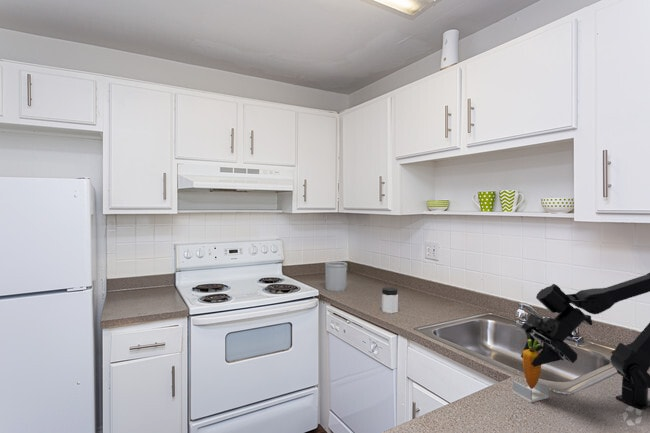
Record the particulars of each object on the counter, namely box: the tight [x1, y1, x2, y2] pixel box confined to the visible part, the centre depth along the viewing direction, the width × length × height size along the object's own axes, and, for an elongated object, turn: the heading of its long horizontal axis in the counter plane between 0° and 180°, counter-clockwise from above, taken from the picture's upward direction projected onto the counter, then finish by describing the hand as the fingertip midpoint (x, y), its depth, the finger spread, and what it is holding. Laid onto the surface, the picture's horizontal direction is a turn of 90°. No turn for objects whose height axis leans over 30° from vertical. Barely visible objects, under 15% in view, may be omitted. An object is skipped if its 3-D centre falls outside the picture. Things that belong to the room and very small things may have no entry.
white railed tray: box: [512, 380, 550, 403], centre depth 108 cm, size 7×6×4 cm
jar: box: [381, 286, 399, 314], centre depth 195 cm, size 9×8×12 cm
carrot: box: [522, 339, 542, 389], centre depth 108 cm, size 5×5×15 cm
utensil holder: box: [324, 261, 348, 292], centre depth 246 cm, size 15×15×18 cm
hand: (527, 361), depth 108 cm, fingers closed on carrot, 5 cm apart
